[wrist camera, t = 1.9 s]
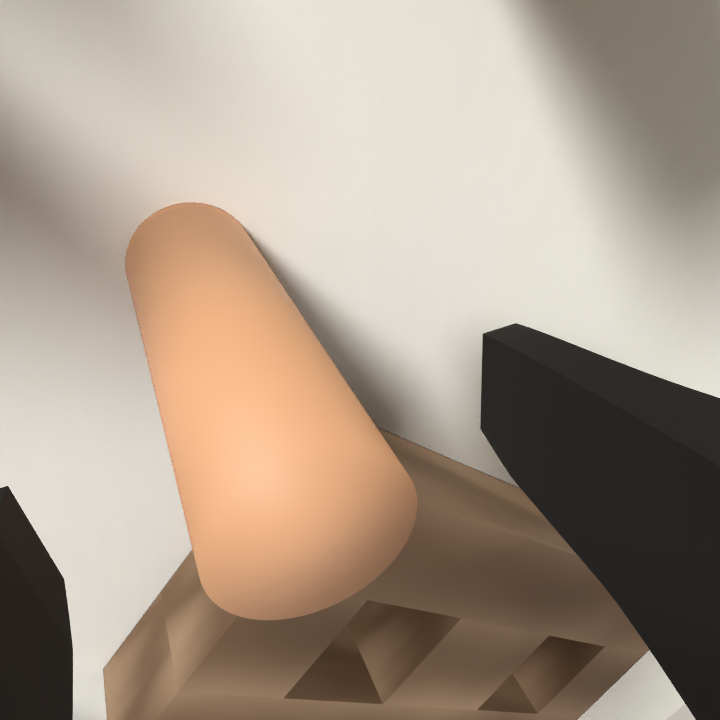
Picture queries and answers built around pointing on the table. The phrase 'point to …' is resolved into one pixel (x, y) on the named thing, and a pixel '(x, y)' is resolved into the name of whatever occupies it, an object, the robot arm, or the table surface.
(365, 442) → the peg
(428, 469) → the hole block
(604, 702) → the table surface
